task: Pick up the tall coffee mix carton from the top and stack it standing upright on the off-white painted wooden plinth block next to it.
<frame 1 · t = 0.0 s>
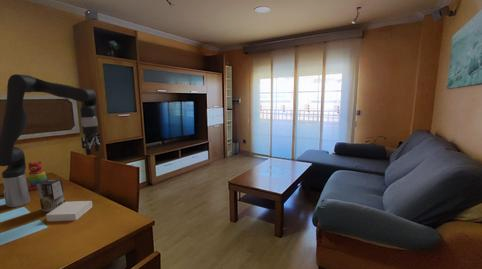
hand: (93, 153, 129), 29 cm above the table, tool pointing down, fingers open, 8 cm apart
plinth: (71, 214, 120), on the table
stacking bear: (38, 187, 155), on the table
coffee box: (54, 209, 125), on the table
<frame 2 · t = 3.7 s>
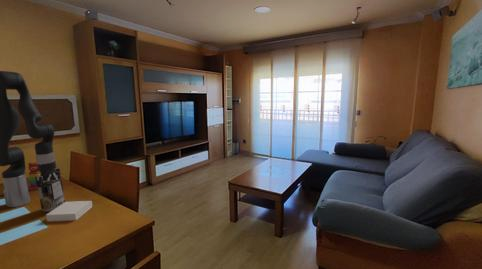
hand: (51, 190, 123), 11 cm above the table, tool pointing down, fingers closed on coffee box, 7 cm apart
coffee box: (54, 209, 125), on the table, touching gripper
everything else where it was.
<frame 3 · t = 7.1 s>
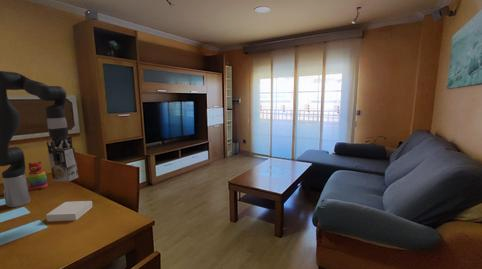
hand: (62, 159, 115), 30 cm above the table, tool pointing down, fingers closed on coffee box, 7 cm apart
coffee box: (66, 179, 117), point 19 cm above the table, touching gripper
everything else where it was.
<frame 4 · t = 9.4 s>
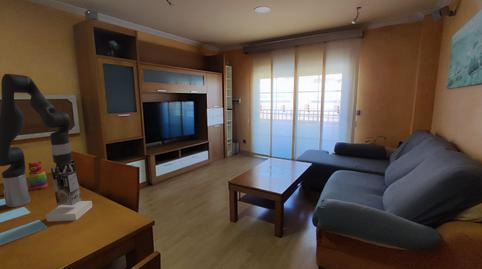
hand: (66, 183, 117), 17 cm above the table, tool pointing down, fingers closed on coffee box, 7 cm apart
coffee box: (69, 202, 119), point 6 cm above the table, touching gripper
everything else where it was.
when the fingers open (16 cm above the table, at t = 10.7 s): coffee box drops 2 cm, resting on plinth.
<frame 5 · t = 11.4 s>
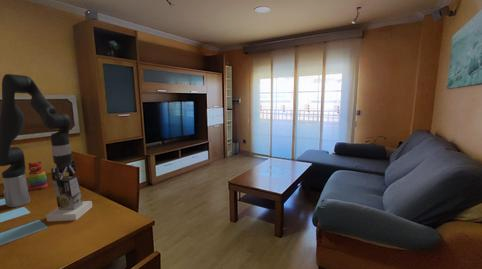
hand: (66, 183, 117), 17 cm above the table, tool pointing down, fingers open, 8 cm apart
plinth: (71, 214, 120), on the table, touching coffee box
coffee box: (71, 207, 120), point 3 cm above the table, touching gripper, plinth
everything else where it was.
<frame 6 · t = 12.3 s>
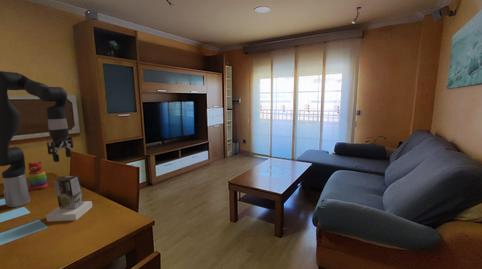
hand: (63, 159, 115), 30 cm above the table, tool pointing down, fingers open, 8 cm apart
plinth: (71, 214, 120), on the table
coffee box: (71, 206, 121), point 3 cm above the table
everything else where it was.
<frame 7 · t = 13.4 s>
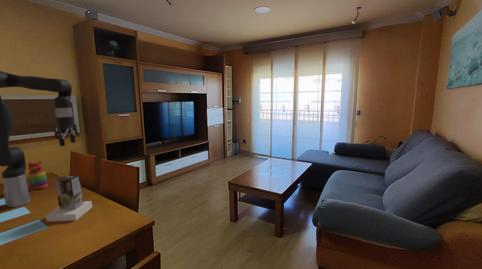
hand: (68, 144, 129), 35 cm above the table, tool pointing down, fingers open, 8 cm apart
plinth: (71, 214, 120), on the table, touching coffee box
coffee box: (71, 206, 121), point 3 cm above the table, touching plinth
everything else where it was.
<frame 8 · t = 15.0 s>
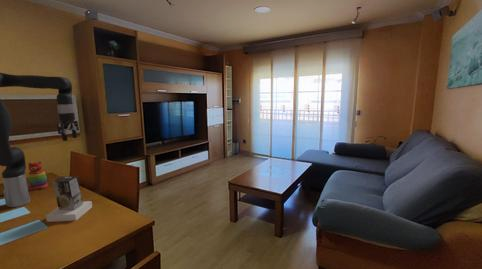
hand: (70, 139, 135), 36 cm above the table, tool pointing down, fingers open, 8 cm apart
at the end: coffee box inside the target area on the plinth (0.9 cm from its centre), point 3.9 cm above the plinth's base; coffee box tilted 1°; the gripper is holding nothing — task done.
